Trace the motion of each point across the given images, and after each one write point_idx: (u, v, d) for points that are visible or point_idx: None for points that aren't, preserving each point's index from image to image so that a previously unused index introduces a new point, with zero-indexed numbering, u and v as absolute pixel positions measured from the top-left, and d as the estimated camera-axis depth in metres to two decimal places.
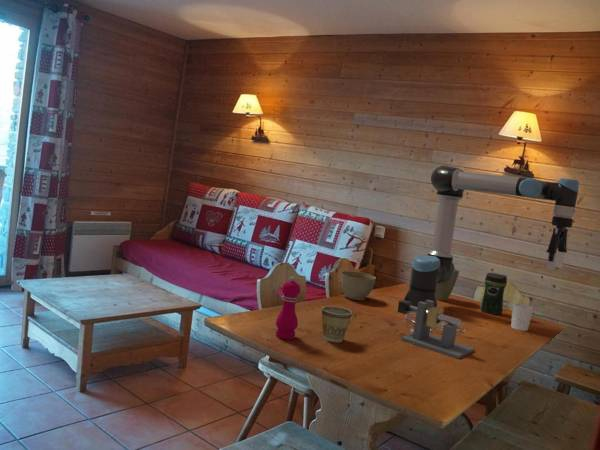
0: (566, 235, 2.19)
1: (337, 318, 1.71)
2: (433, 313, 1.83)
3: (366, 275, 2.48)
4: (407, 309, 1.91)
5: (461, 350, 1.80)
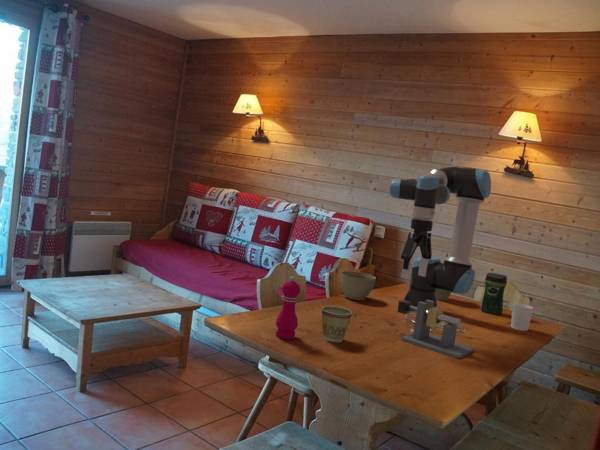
0: (429, 240, 1.95)
1: (337, 318, 1.71)
2: (433, 313, 1.83)
3: (366, 275, 2.48)
4: (407, 309, 1.91)
5: (461, 350, 1.80)
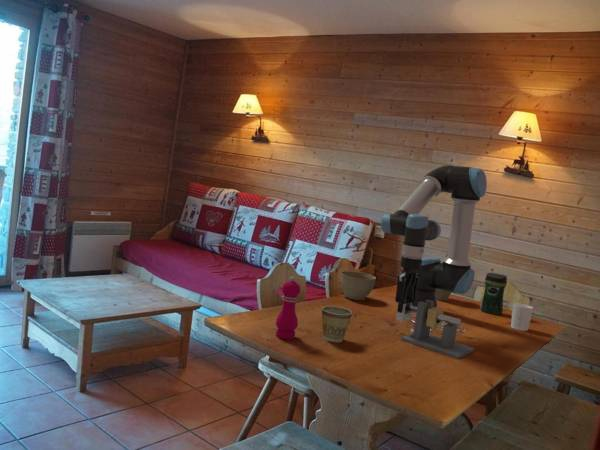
0: (417, 280, 1.95)
1: (337, 318, 1.71)
2: (433, 313, 1.83)
3: (366, 275, 2.48)
4: (407, 309, 1.91)
5: (461, 350, 1.80)
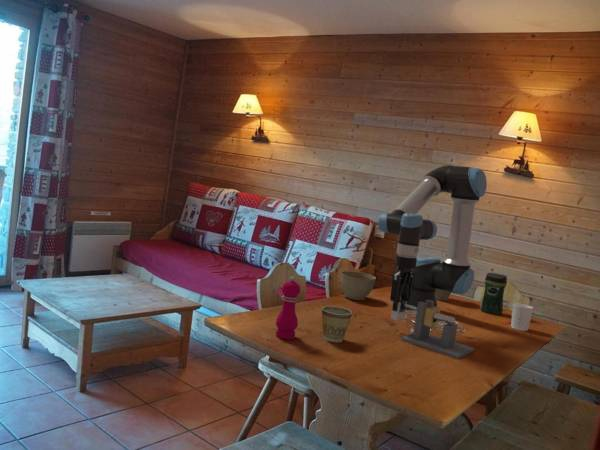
0: (412, 279, 1.96)
1: (337, 318, 1.71)
2: (430, 312, 1.83)
3: (366, 275, 2.48)
4: (402, 308, 1.92)
5: (461, 350, 1.80)
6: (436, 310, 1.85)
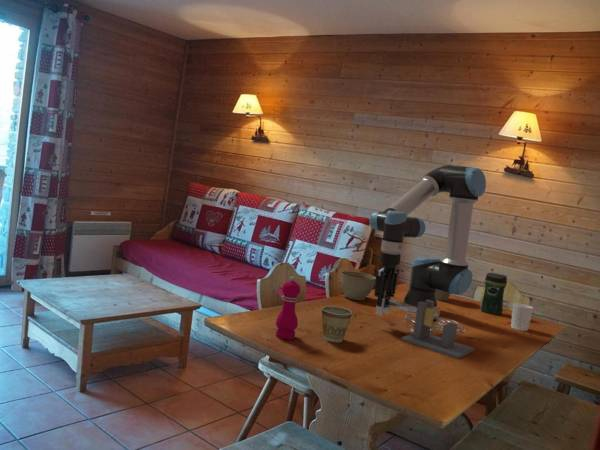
0: (396, 275, 2.00)
1: (337, 318, 1.71)
2: (429, 312, 1.83)
3: (366, 275, 2.48)
4: (386, 303, 1.96)
5: (461, 350, 1.80)
6: (436, 310, 1.85)
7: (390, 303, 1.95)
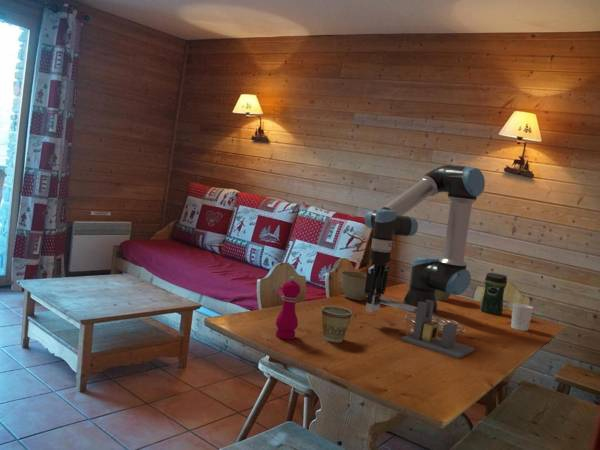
0: (386, 273, 2.03)
1: (337, 318, 1.71)
2: (428, 328, 1.84)
3: (366, 275, 2.48)
4: (377, 300, 1.99)
5: (461, 350, 1.80)
6: (435, 326, 1.85)
7: (380, 300, 1.98)
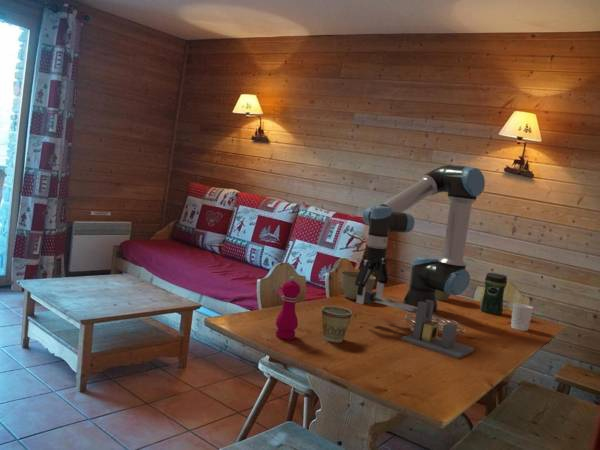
0: (384, 265, 2.05)
1: (337, 318, 1.71)
2: (428, 328, 1.84)
3: None
4: (372, 299, 2.00)
5: (461, 350, 1.80)
6: (435, 326, 1.85)
7: (375, 299, 1.99)
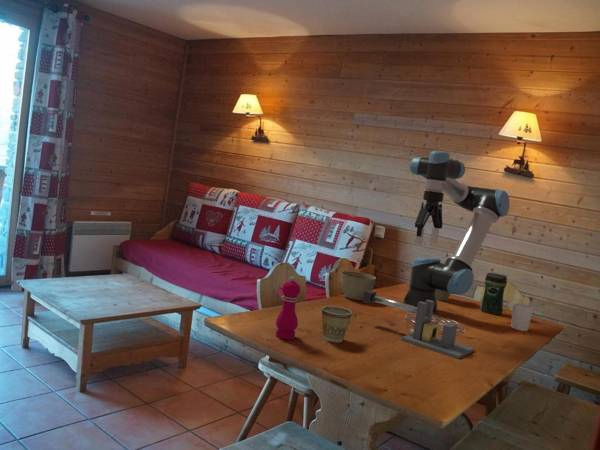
0: (440, 210, 2.13)
1: (337, 318, 1.71)
2: (428, 328, 1.84)
3: (366, 275, 2.48)
4: (372, 299, 2.00)
5: (461, 350, 1.80)
6: (435, 326, 1.85)
7: (375, 299, 1.99)
